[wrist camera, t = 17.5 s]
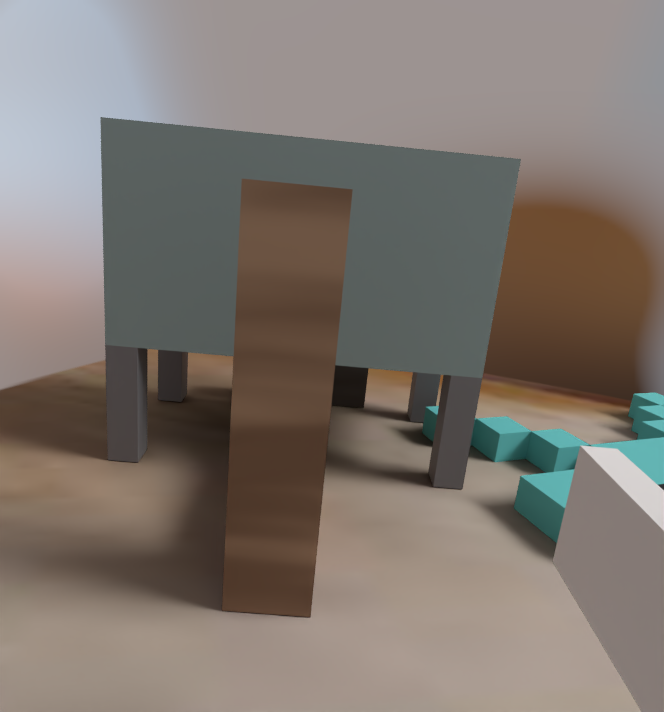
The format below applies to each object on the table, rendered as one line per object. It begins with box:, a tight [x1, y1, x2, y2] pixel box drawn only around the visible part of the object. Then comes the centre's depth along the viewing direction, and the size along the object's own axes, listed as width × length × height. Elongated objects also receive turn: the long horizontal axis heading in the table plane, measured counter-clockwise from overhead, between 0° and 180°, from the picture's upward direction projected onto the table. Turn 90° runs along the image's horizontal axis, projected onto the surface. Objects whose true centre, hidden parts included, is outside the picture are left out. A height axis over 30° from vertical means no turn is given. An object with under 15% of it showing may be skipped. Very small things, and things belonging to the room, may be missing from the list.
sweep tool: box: [222, 179, 368, 617], centre depth 27 cm, size 22×9×14 cm, turn 0°
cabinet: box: [101, 117, 521, 489], centre depth 31 cm, size 18×10×16 cm, turn 90°
